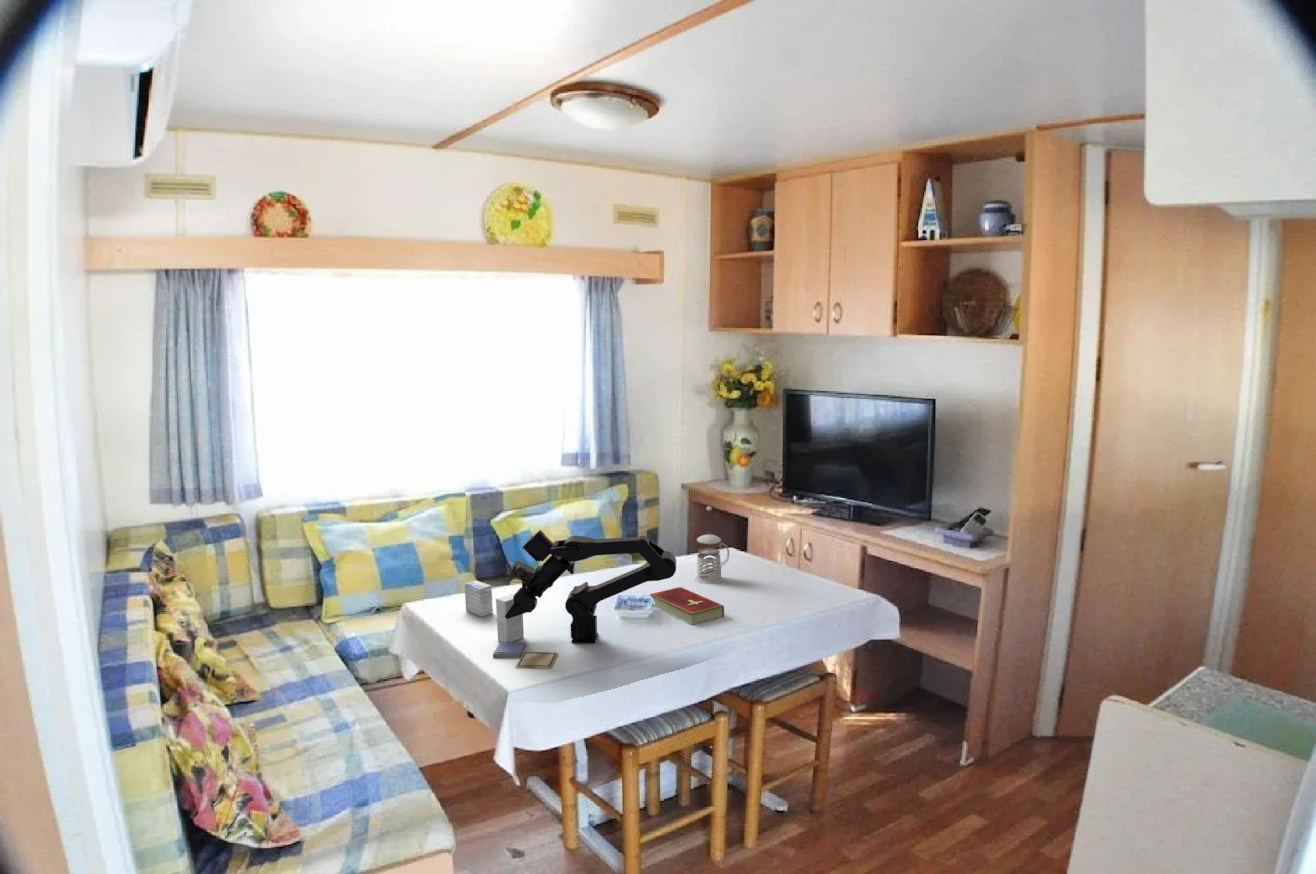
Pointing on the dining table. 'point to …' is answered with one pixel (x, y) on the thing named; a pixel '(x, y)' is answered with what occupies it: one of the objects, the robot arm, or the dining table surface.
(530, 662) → the marked board
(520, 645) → the ink pad
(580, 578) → the dining table surface
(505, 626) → the skincare box
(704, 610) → the hardcover book
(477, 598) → the medicine box
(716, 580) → the french press
